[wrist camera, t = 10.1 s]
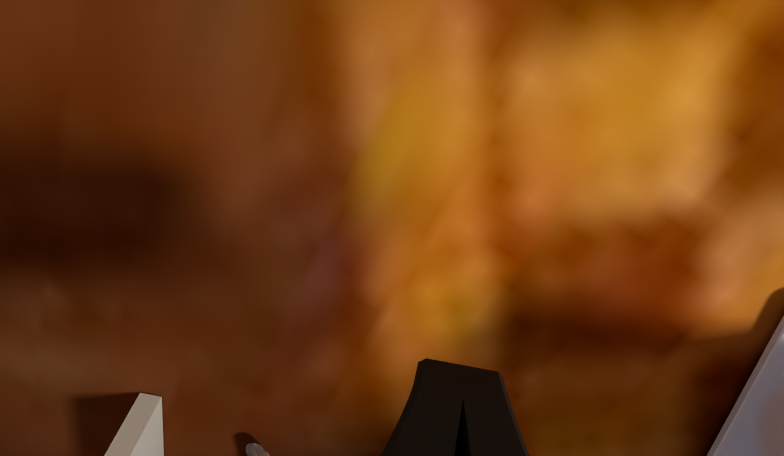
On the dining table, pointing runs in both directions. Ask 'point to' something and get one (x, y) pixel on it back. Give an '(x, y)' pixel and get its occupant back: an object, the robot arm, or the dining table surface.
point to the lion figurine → (255, 450)
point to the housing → (140, 429)
